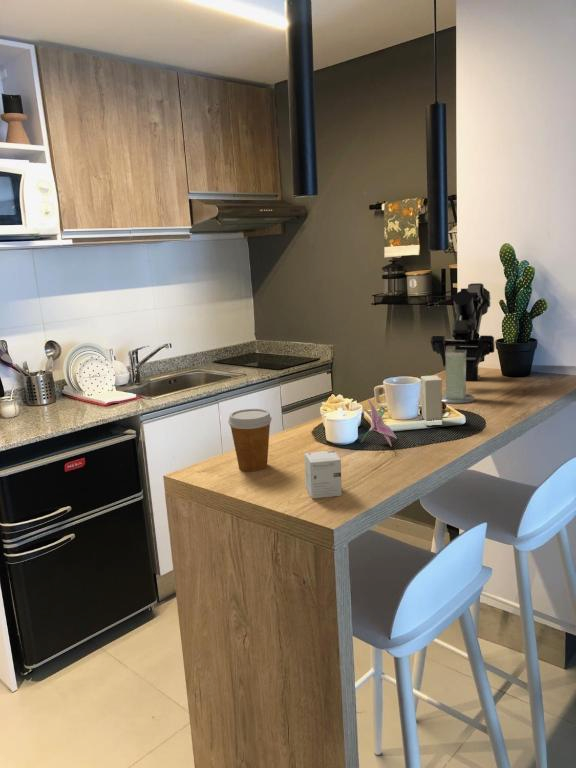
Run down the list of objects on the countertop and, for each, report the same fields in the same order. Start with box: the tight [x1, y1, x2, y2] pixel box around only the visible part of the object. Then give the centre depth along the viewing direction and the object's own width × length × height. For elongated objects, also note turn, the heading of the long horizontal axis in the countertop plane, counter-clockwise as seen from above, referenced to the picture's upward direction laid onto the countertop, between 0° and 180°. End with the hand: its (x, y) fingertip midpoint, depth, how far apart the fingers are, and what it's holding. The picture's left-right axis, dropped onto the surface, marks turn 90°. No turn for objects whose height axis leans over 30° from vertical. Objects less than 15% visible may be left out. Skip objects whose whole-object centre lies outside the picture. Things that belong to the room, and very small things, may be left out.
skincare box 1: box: [303, 450, 343, 499], centre depth 119 cm, size 6×6×7 cm
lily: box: [360, 398, 397, 447], centre depth 147 cm, size 12×12×10 cm
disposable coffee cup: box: [227, 408, 273, 472], centre depth 135 cm, size 10×10×12 cm
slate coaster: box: [442, 393, 476, 405], centre depth 183 cm, size 11×11×1 cm
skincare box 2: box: [420, 374, 444, 421], centre depth 160 cm, size 6×4×12 cm
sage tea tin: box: [445, 349, 467, 400], centre depth 181 cm, size 5×5×14 cm
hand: (459, 366), depth 188 cm, fingers open, 9 cm apart
